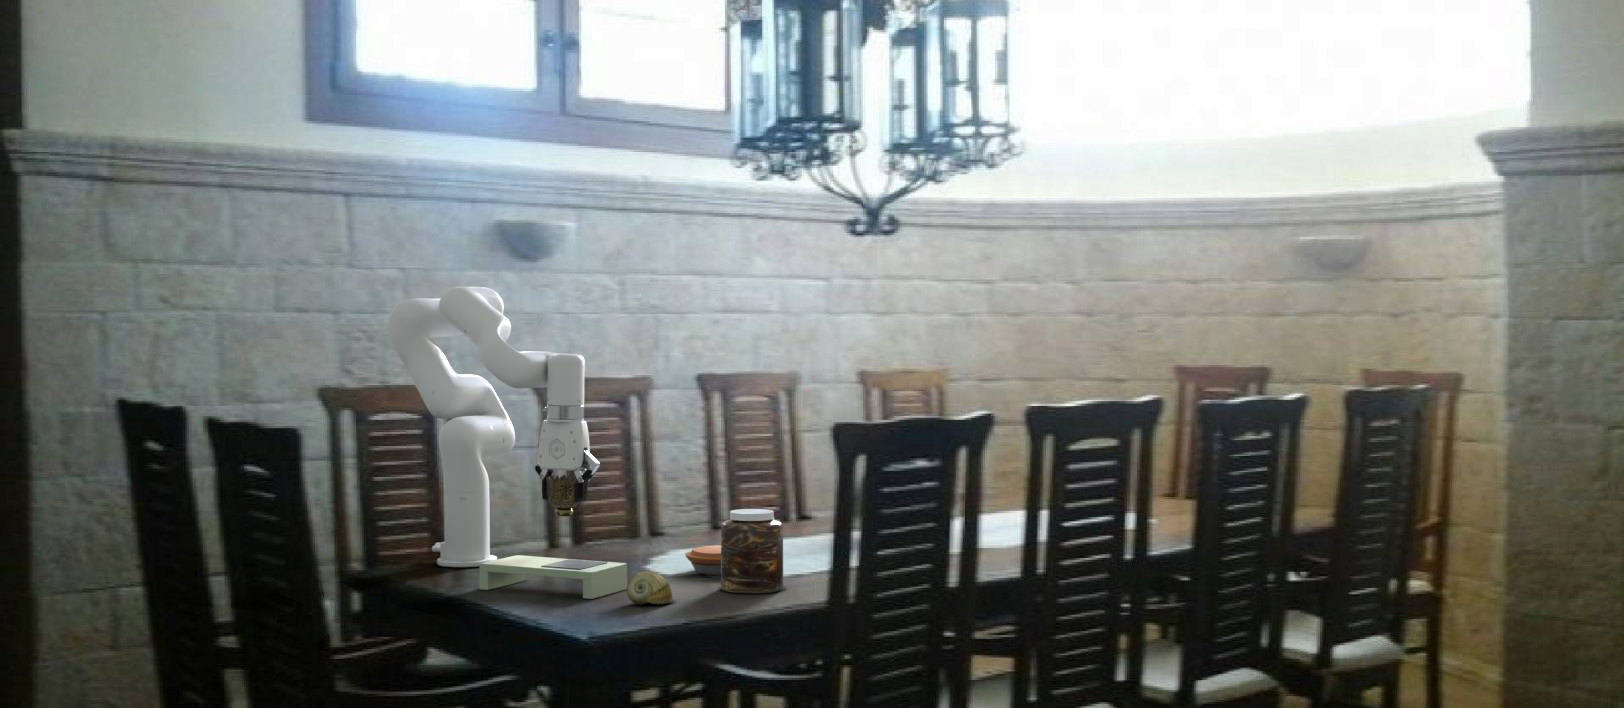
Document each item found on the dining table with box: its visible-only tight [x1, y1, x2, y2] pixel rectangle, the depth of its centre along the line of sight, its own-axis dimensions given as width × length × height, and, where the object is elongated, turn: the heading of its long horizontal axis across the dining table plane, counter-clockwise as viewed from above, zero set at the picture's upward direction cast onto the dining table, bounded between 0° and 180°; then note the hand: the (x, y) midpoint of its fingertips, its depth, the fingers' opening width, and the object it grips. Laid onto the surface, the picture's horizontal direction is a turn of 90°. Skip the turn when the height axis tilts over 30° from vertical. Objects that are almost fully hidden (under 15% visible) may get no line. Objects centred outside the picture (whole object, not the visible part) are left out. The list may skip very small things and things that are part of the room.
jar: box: [720, 508, 784, 595], centre depth 292 cm, size 12×12×15 cm
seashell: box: [626, 570, 673, 606], centre depth 277 cm, size 10×7×8 cm
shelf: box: [478, 554, 628, 600], centre depth 293 cm, size 26×12×5 cm, turn 64°
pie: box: [684, 544, 721, 576], centre depth 314 cm, size 15×16×5 cm
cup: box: [546, 474, 580, 517], centre depth 311 cm, size 8×7×8 cm
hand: (564, 499), depth 311 cm, fingers closed on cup, 7 cm apart
